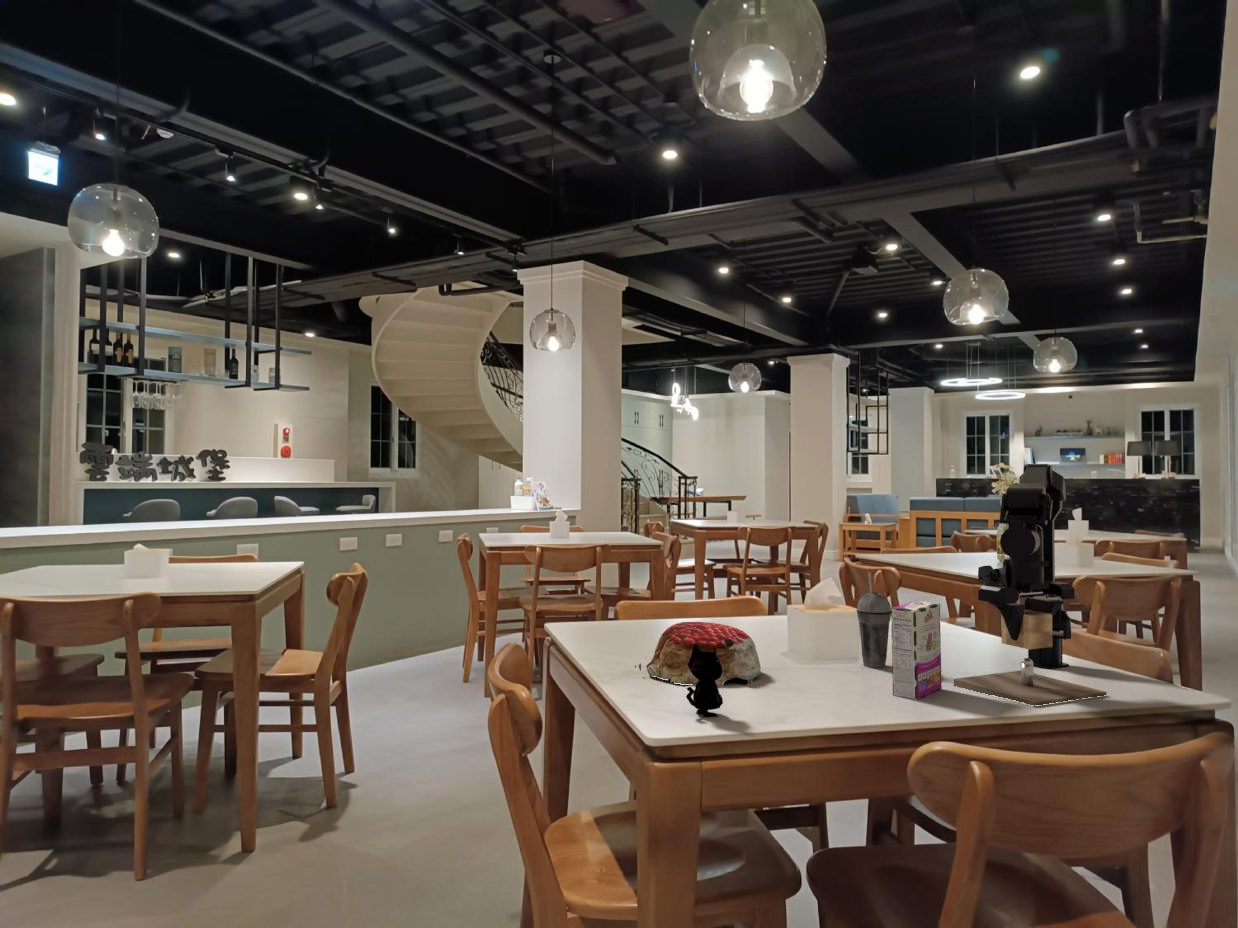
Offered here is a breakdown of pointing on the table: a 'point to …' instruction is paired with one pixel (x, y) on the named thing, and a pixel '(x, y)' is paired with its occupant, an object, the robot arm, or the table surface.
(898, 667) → the candy bar box
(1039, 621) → the oak collar
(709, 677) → the cat figurine
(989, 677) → the pin board
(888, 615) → the beverage cup
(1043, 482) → the robot arm
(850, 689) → the table surface
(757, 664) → the cake
